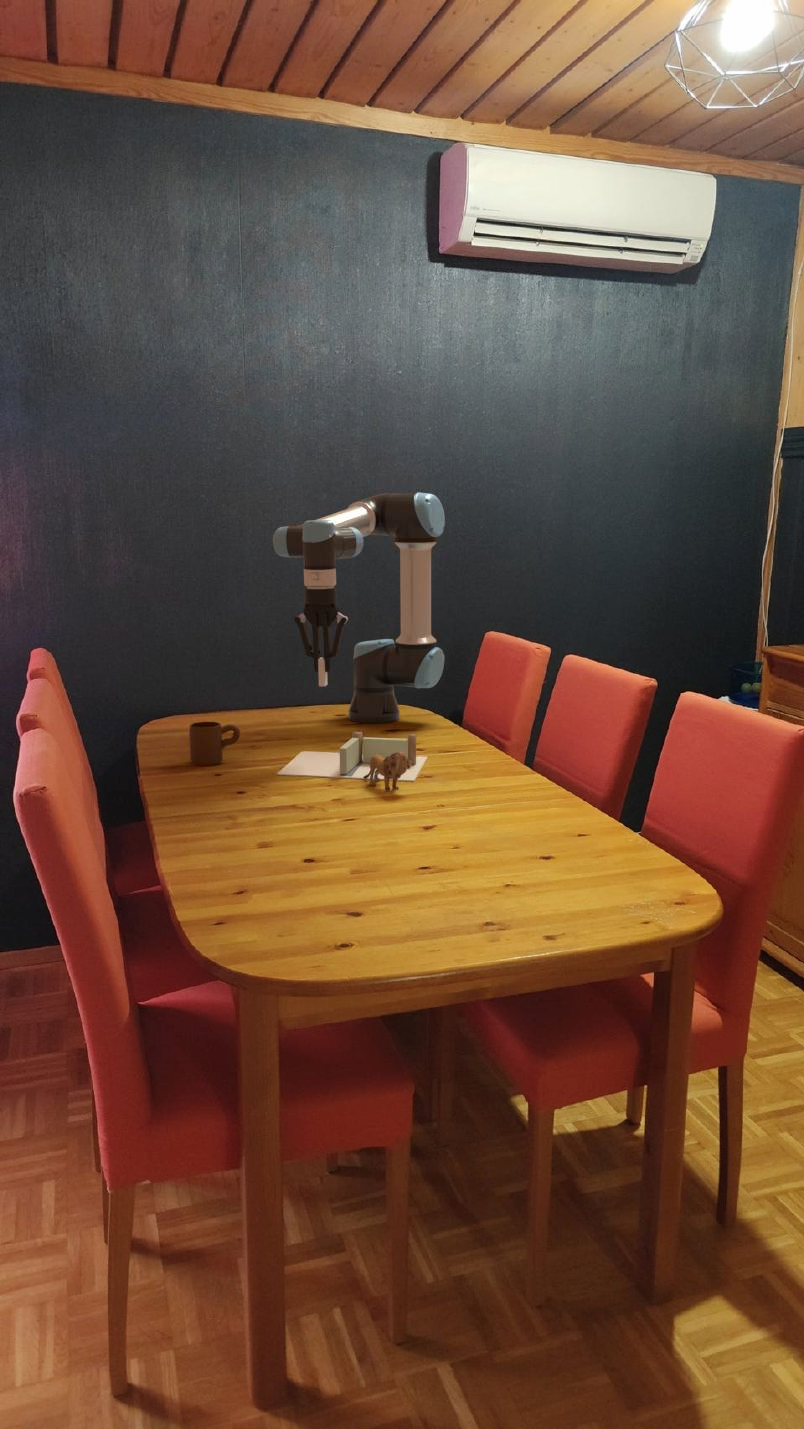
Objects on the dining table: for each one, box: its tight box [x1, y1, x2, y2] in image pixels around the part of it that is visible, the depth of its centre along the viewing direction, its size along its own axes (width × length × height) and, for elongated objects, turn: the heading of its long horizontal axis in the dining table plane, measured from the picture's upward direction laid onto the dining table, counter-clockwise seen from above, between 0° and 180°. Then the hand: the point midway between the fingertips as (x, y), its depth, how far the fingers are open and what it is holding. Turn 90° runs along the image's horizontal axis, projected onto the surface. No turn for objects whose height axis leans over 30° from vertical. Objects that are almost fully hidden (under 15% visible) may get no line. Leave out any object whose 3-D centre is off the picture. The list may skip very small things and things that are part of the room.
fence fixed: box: [351, 731, 417, 765], centre depth 231 cm, size 2×16×7 cm, turn 81°
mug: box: [188, 721, 241, 767], centre depth 232 cm, size 12×8×9 cm, turn 102°
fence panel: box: [339, 738, 359, 774], centre depth 225 cm, size 2×11×6 cm, turn 167°
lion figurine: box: [363, 752, 412, 793], centre depth 211 cm, size 15×5×9 cm, turn 41°
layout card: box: [276, 750, 429, 783], centre depth 230 cm, size 22×32×1 cm
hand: (323, 685), depth 232 cm, fingers closed
